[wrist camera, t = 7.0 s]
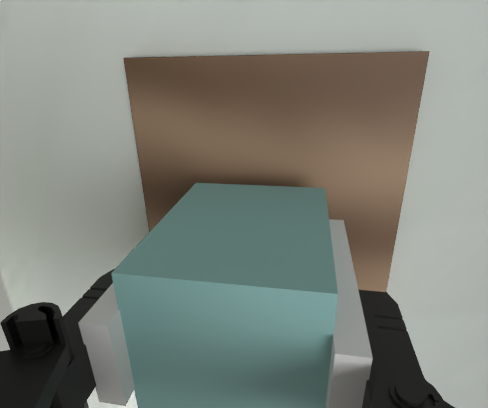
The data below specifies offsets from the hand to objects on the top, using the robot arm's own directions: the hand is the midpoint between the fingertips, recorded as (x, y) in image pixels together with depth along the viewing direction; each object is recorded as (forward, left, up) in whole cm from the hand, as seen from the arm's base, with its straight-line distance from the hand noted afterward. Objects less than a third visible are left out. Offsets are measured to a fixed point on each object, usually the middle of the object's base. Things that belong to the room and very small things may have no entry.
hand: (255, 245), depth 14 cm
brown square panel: (0, 0, -3) cm, 3 cm away
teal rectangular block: (0, 0, -1) cm, 1 cm away
